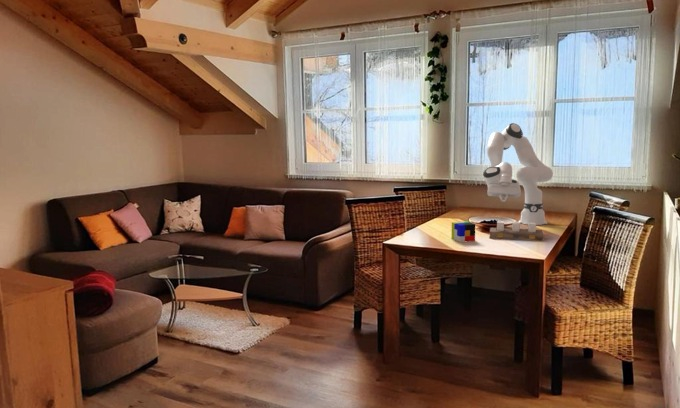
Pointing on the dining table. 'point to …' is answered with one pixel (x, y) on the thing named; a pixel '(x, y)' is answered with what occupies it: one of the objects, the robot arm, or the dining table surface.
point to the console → (516, 234)
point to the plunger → (531, 227)
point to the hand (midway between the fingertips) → (503, 201)
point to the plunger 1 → (500, 225)
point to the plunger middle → (516, 226)
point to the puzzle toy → (463, 231)
